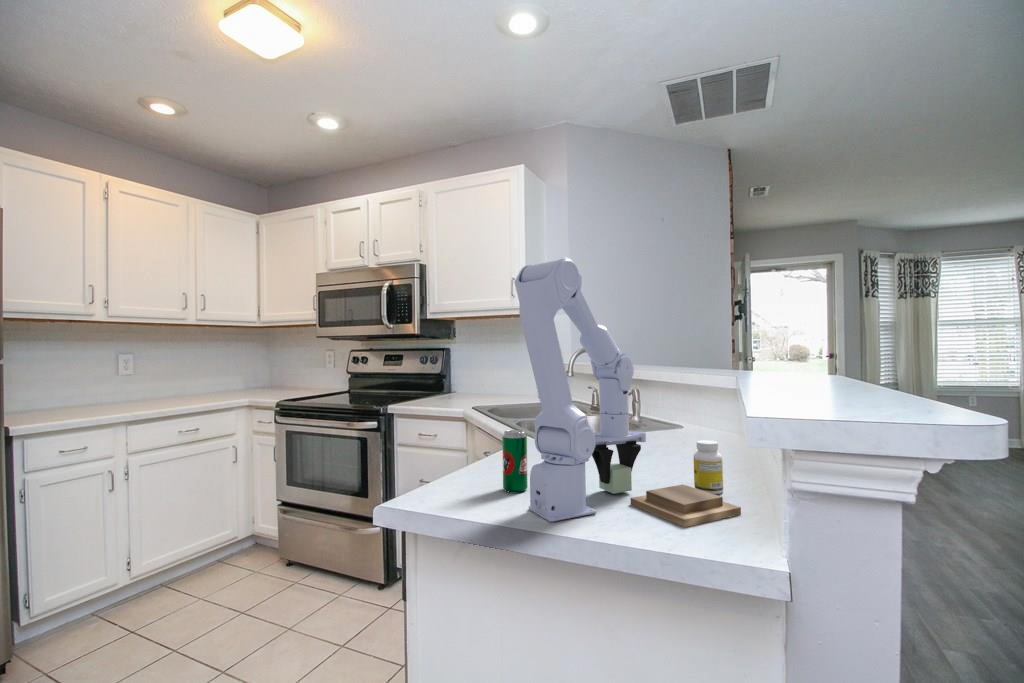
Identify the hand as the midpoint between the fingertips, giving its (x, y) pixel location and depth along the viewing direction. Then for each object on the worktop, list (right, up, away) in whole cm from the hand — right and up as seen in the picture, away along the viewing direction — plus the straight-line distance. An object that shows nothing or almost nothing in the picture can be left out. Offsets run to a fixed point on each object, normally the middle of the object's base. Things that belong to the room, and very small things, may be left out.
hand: (615, 480), depth 94 cm
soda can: (-20, -3, +2) cm, 20 cm away
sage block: (0, -2, 0) cm, 2 cm away
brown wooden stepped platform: (+10, -2, -11) cm, 15 cm away
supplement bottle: (+19, -2, 0) cm, 19 cm away
